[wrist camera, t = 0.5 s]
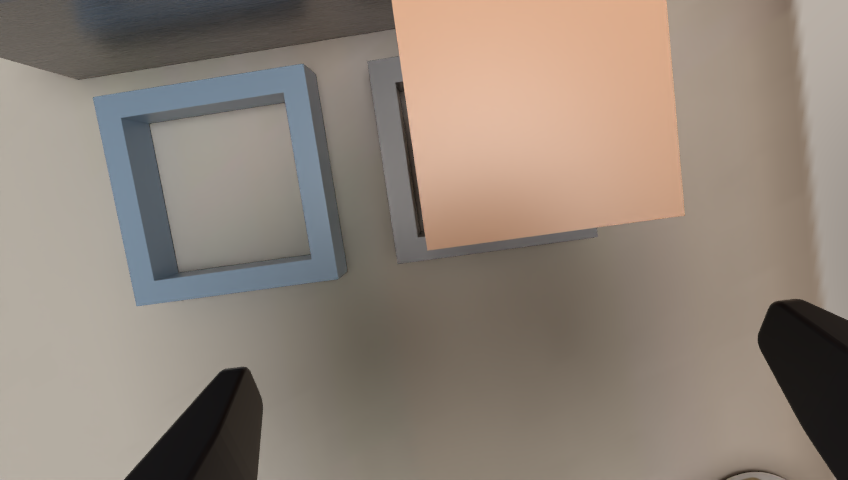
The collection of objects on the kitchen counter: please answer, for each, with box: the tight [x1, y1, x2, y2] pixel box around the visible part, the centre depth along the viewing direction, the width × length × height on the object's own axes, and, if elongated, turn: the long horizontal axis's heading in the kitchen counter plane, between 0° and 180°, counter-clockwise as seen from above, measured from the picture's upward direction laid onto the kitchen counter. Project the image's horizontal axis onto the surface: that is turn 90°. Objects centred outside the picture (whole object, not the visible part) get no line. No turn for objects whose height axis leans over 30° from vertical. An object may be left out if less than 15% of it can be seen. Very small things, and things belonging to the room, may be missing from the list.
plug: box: [392, 0, 685, 251], centre depth 15 cm, size 5×4×14 cm
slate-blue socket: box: [93, 64, 347, 306], centre depth 22 cm, size 9×9×2 cm
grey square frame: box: [367, 56, 598, 264], centre depth 21 cm, size 8×8×2 cm
